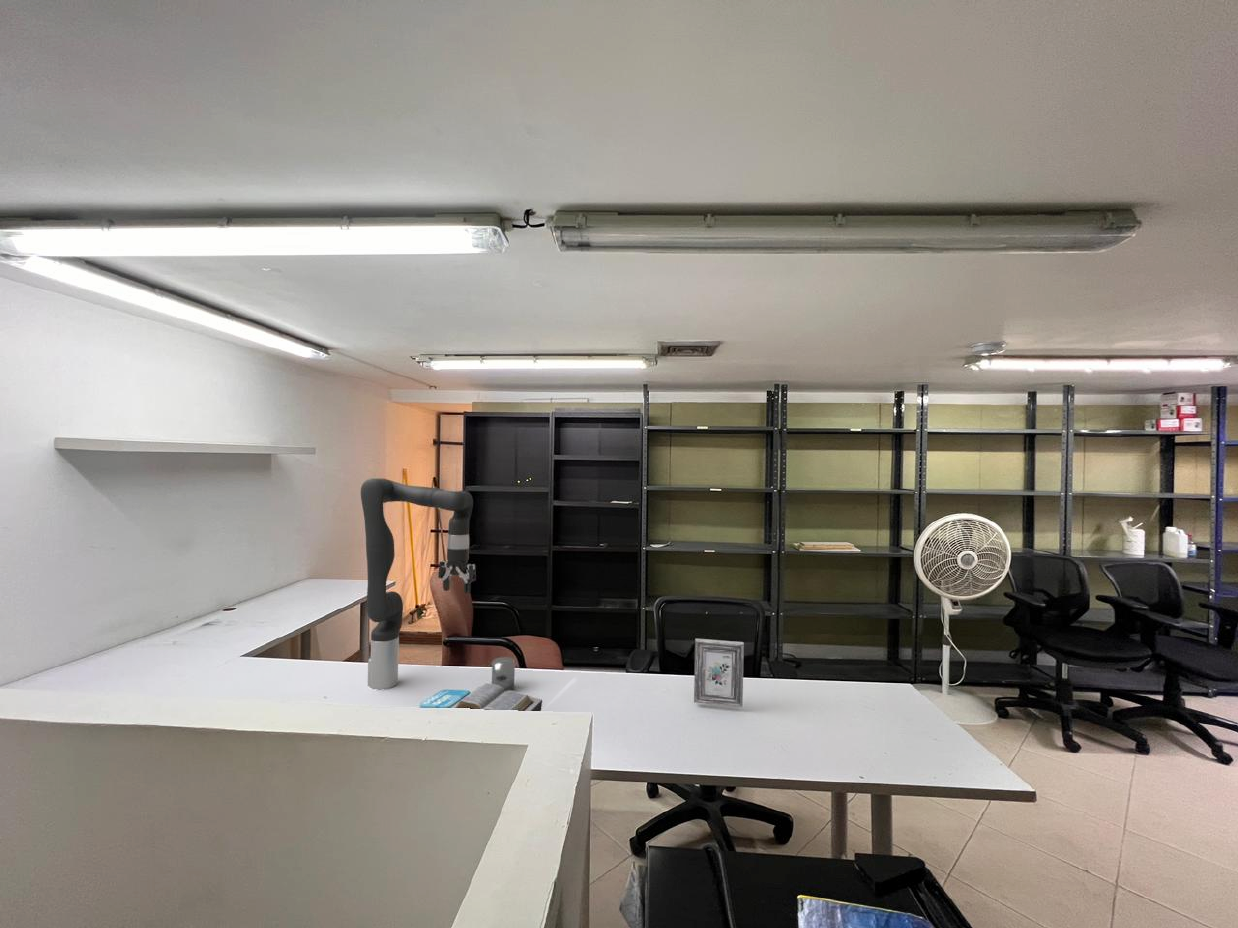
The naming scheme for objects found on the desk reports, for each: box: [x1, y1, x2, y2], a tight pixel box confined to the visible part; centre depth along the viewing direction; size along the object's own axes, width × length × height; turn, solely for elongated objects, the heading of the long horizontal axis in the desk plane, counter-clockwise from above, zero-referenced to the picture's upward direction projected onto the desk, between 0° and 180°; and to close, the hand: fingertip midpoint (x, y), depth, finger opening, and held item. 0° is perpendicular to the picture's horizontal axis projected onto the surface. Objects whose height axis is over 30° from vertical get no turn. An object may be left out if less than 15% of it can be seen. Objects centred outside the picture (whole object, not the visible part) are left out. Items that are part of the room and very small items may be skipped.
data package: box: [419, 689, 471, 709], centre depth 158 cm, size 12×4×12 cm
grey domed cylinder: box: [491, 656, 516, 691], centre depth 177 cm, size 8×8×10 cm
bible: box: [451, 683, 543, 712], centre depth 152 cm, size 23×27×10 cm
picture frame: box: [693, 638, 745, 708], centre depth 170 cm, size 16×2×22 cm, turn 81°
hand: (456, 591), depth 175 cm, fingers open, 8 cm apart
